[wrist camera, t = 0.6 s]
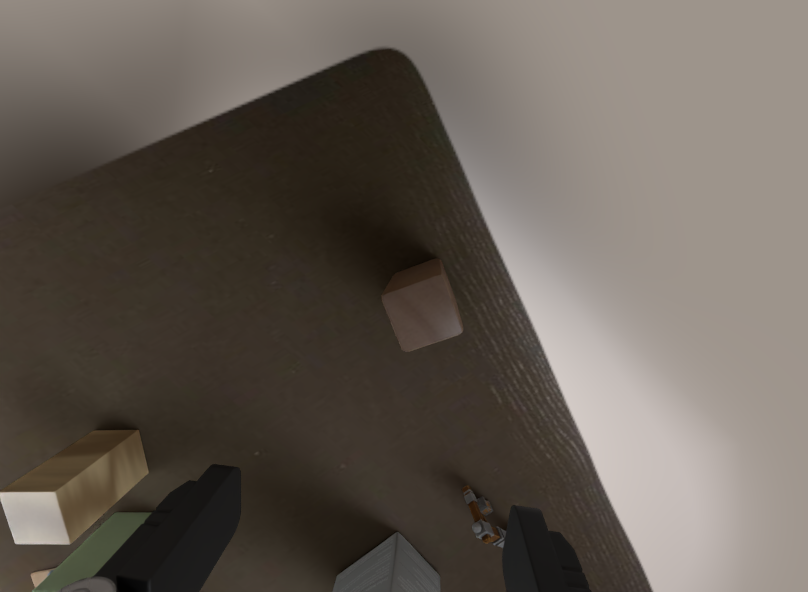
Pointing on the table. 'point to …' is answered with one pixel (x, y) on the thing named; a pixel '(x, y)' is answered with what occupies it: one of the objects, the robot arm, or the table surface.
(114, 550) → the line block
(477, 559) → the table surface
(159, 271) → the table surface
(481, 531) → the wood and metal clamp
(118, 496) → the line block
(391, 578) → the cosmetic box
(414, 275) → the wooden block
